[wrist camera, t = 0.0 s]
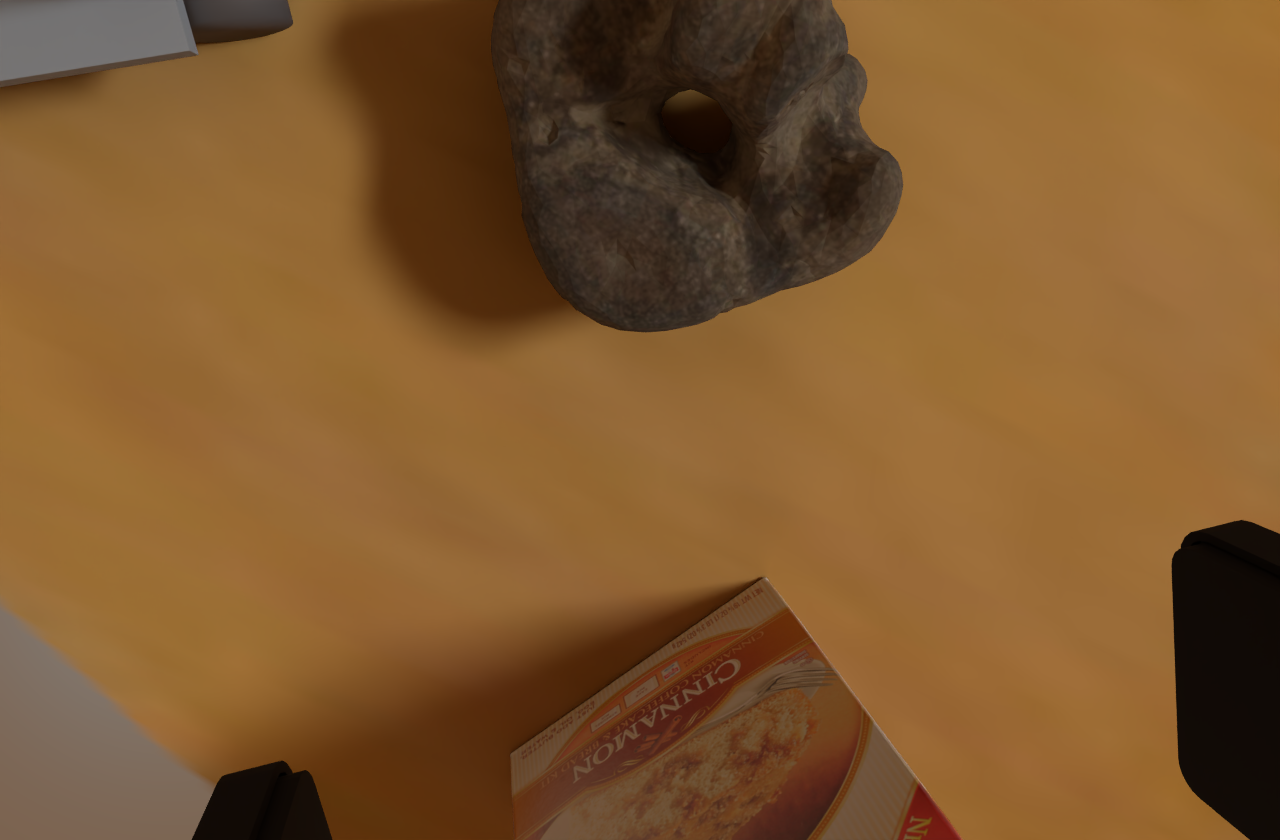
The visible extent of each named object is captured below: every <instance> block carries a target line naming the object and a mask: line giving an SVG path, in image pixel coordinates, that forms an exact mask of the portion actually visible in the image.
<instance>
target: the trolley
mask: <svg viewBox="0 0 1280 840" xmlns="http://www.w3.org/2000/svg"><path fill="white" fill-rule="evenodd" d="M292 24H293V20H292V16H291V12H290V9H289V5H288V1H287V0H0V87H4V86H11V85H17V84H23V83H29V82H35V81H42V80H48V79H54V78H60V77H66V76H73V75H79V74H85V73H91V72H97V71H104V70H110V69H116V68H122V67H128V66H135V65H141V64H147V63H153V62H159V61H165V60H172V59H178V58H184V57H190V56H196V55H198V51H197V48H196V44H195V42H202V43H210V42H228V41H238V40H245V39H251V38H257V37H262V36H266V35H270V34H274V33H277V32H280V31H283V30H285V29H287V28H289V27H290V26H291V25H292Z"/></svg>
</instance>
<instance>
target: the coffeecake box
mask: <svg viewBox="0 0 1280 840" xmlns="http://www.w3.org/2000/svg"><path fill="white" fill-rule="evenodd" d="M510 758H511V787H512V804H513V829H514V840H963V839H962V837H961V836H960V835H959V833H958V832H957V830H956V829H955V828H954V826H953V825H952V824H951V822H950V821H949V820H948V818H947V817H946V816H945V814H944V813H943V811H942V810H941V809H940V807H939V806H938V805H937V803H936V802H935V801H934V799H933V798H932V797H931V795H930V794H929V792H928V791H927V790H926V788H925V787H924V786H923V784H922V783H921V782H920V780H919V779H918V778H917V776H916V775H915V774H914V772H913V771H912V770H911V768H910V767H909V766H908V764H907V763H906V762H905V760H904V759H903V758H902V756H901V755H900V754H899V752H898V751H897V750H896V748H895V747H894V746H893V744H892V743H891V742H890V741H889V739H888V738H887V737H886V735H885V734H884V733H883V731H882V730H881V729H880V727H879V726H878V725H877V723H876V722H875V720H874V719H873V718H872V716H871V715H870V714H869V712H868V711H867V710H866V708H865V707H864V706H863V705H862V703H861V702H860V701H859V699H858V698H857V696H856V695H855V694H854V692H853V691H852V690H851V688H850V687H849V686H848V684H847V683H846V682H845V680H844V679H843V678H842V676H841V675H840V674H839V672H838V671H837V670H836V668H835V667H834V666H833V665H832V663H831V662H830V661H829V659H828V658H827V656H826V655H825V654H824V652H823V651H822V650H821V648H820V647H819V646H818V644H817V643H816V642H815V640H814V639H813V638H812V636H811V635H810V634H809V632H808V631H807V629H806V628H805V627H804V625H803V624H802V623H801V621H800V620H799V619H798V618H797V616H796V615H795V614H794V612H793V611H792V610H791V608H790V607H789V606H788V604H787V603H786V602H785V600H784V599H783V598H782V596H781V595H780V594H779V593H778V591H777V590H776V589H775V588H774V586H773V585H772V584H771V583H770V581H769V580H768V579H767V578H762V579H761V580H759V581H758V582H756V583H755V584H753V585H752V586H750V587H749V588H748V589H746V590H745V591H743V592H742V593H740V594H739V595H738V596H736V597H735V598H733V599H732V600H730V601H729V602H727V603H726V604H724V605H723V606H721V607H720V608H719V609H717V610H716V611H714V612H713V613H711V614H710V615H708V616H707V617H706V618H704V619H703V620H701V621H700V622H698V623H697V624H696V625H694V626H693V627H691V628H690V629H688V630H687V631H686V632H684V633H683V634H681V635H680V636H678V637H677V638H675V639H674V640H673V641H671V642H670V643H668V644H667V645H665V646H664V647H663V648H661V649H660V650H658V651H657V652H655V653H654V654H653V655H651V656H650V657H648V658H647V659H645V660H644V661H642V662H641V663H640V664H638V665H637V666H635V667H634V668H632V669H631V670H630V671H628V672H627V673H625V674H624V675H622V676H621V677H619V678H618V679H617V680H615V681H614V682H612V683H611V684H610V685H608V686H607V687H605V688H604V689H602V690H601V691H600V692H598V693H597V694H595V695H594V696H593V697H591V698H590V699H588V700H587V701H585V702H584V703H582V704H581V705H580V706H578V707H577V708H575V709H574V710H572V711H571V712H570V713H568V714H567V715H565V716H564V717H562V718H561V719H560V720H558V721H557V722H555V723H554V724H552V725H551V726H549V727H548V728H547V729H545V730H544V731H542V732H541V733H539V734H538V735H537V736H535V737H534V738H532V739H531V740H529V741H528V742H526V743H525V744H524V745H522V746H521V747H519V748H518V749H516V750H515V751H514V752H512V753H511V754H510Z"/></svg>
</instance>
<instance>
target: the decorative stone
mask: <svg viewBox="0 0 1280 840" xmlns="http://www.w3.org/2000/svg"><path fill="white" fill-rule="evenodd" d="M491 52H492V60H493V66H494V70H495V73H496V76H497V82H498V86H499V90H500V93H501V97H502V100H503V103H504V107H505V110H506V114H507V119H508V125H509V131H510V137H511V145H512V154H513V159H514V162H515V171H516V178H517V185H518V191H519V194H520V198H521V201H522V218H523V221H524V224H525V228H526V231H527V234H528V237H529V240H530V242H531V245H532V247H533V250H534V252H535V255H536V256H537V258H538V260H539V262H540V264H541V266H542V268H543V270H544V272H545V274H546V276H547V278H548V280H549V281H550V283H551V284H552V285H553V287H554V288H555V289H556V291H557V292H558V293H559V294H560V295H561V297H562V298H564V299H566V300H567V301H569V302H570V303H571V304H572V305H573V307H574V308H575V309H576V310H578V311H579V312H581V313H583V314H584V315H586V316H588V317H589V318H591V319H593V320H594V321H596V322H597V323H599V324H601V325H605V326H608V327H611V328H615V329H618V330H624V331H636V332H657V331H667V330H673V329H678V328H683V327H688V326H692V325H697V324H699V323H702V322H705V321H708V320H710V319H712V318H714V317H716V316H717V315H718V314H719V313H724V312H728V311H730V310H731V309H733V308H735V307H739V306H743V305H747V304H750V303H752V302H755V301H757V300H759V299H762V298H764V297H767V296H769V295H771V294H774V293H776V292H778V291H781V290H785V289H789V288H794V287H798V286H802V285H805V284H808V283H811V282H814V281H816V280H819V279H822V278H824V277H826V276H829V275H831V274H834V273H836V272H838V271H840V270H842V269H844V268H845V267H847V266H849V265H851V264H852V263H854V262H855V261H857V260H858V259H860V258H861V257H863V256H864V255H866V254H867V253H869V252H870V251H871V250H872V249H873V248H874V246H875V245H876V244H877V243H878V242H879V241H880V239H881V238H882V237H883V235H884V233H885V231H886V230H887V228H888V226H889V225H890V223H891V221H892V220H893V218H894V216H895V214H896V212H897V209H898V205H899V202H900V198H901V194H902V189H903V180H902V173H901V170H900V167H899V164H898V162H897V160H896V159H895V158H894V157H893V156H892V155H891V154H890V153H889V152H888V151H886V150H884V149H882V148H879V147H878V146H877V145H875V144H874V143H873V142H872V141H871V139H870V138H869V137H868V135H867V134H866V132H865V131H864V130H863V128H862V126H861V123H860V119H859V112H858V111H859V106H860V104H861V102H862V100H863V98H864V95H865V92H866V88H867V77H866V72H865V70H864V68H863V67H862V65H861V64H860V63H859V61H858V60H857V59H856V58H855V57H853V56H852V55H850V54H847V52H848V40H847V35H846V30H845V25H844V23H843V22H842V20H841V19H840V17H839V15H838V14H837V12H836V11H835V9H834V8H833V6H832V1H831V0H499V2H498V5H497V8H496V11H495V13H494V22H493V29H492V35H491ZM689 89H692V90H696V91H698V92H700V93H702V94H705V95H707V96H709V97H711V98H713V99H715V100H717V101H718V103H719V104H720V106H721V108H722V110H723V111H724V112H725V114H726V115H727V116H728V118H729V119H730V120H731V121H732V129H731V133H730V138H729V141H728V143H727V144H726V145H725V147H724V148H723V149H721V150H719V151H717V152H715V153H698V152H696V151H693V150H691V149H688V148H686V147H684V146H683V145H681V144H680V143H679V142H677V141H676V140H675V139H673V138H672V137H671V136H670V135H669V133H668V131H667V130H666V128H665V126H664V124H663V120H662V116H661V110H662V108H663V106H664V104H665V102H666V101H667V100H668V99H670V98H671V97H672V96H674V95H675V94H677V93H678V92H681V91H685V90H689Z"/></svg>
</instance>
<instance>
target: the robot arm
mask: <svg viewBox="0 0 1280 840" xmlns="http://www.w3.org/2000/svg"><path fill="white" fill-rule="evenodd" d="M1172 591H1173V619H1174V648H1175V676H1176V704H1177V733H1178V759H1179V765H1180V769H1181V772H1182V774H1183V776H1184V778H1185V780H1186V782H1187V784H1188V785H1189V787H1190V788H1191V789H1192V791H1193V792H1194V793H1195V794H1196V795H1197V796H1198V797H1199V798H1200V799H1201V800H1203V801H1204V802H1205V803H1206V804H1207V805H1209V806H1210V807H1211V808H1212V809H1213V810H1215V811H1216V812H1217V813H1218V814H1219V815H1221V816H1222V817H1223V818H1224V819H1225V820H1227V821H1228V822H1229V823H1230V824H1232V825H1233V826H1234V827H1235V828H1236V829H1238V830H1239V831H1240V832H1241V833H1242V834H1244V835H1245V836H1246V837H1247V838H1248V839H1250V840H1280V534H1279V533H1276V532H1274V531H1271V530H1269V529H1267V528H1264V527H1262V526H1259V525H1257V524H1255V523H1252V522H1248V521H1244V520H1240V521H1234V522H1230V523H1226V524H1222V525H1218V526H1214V527H1210V528H1206V529H1202V530H1198V531H1194V532H1191V533H1189V534H1188V535H1187V536H1186V537H1185V538H1184V540H1183V542H1182V544H1181V549H1179V550H1178V551H1176V552H1175V554H1174V556H1173V558H1172ZM192 840H332V837H331V834H330V831H329V828H328V824H327V821H326V818H325V815H324V812H323V808H322V805H321V802H320V799H319V796H318V792H317V789H316V786H315V783H314V781H313V778H312V776H311V775H310V773H309V772H308V771H306V770H304V771H300V772H297V773H292V770H291V769H290V767H289V766H288V764H287V763H286V762H284V761H279V762H275V763H271V764H267V765H263V766H259V767H255V768H251V769H247V770H243V771H239V772H235V773H231V774H227V775H224V776H222V777H221V778H220V780H219V781H218V783H217V785H216V787H215V789H214V792H213V794H212V796H211V798H210V800H209V803H208V805H207V807H206V809H205V811H204V814H203V816H202V818H201V820H200V822H199V825H198V827H197V829H196V831H195V834H194V836H193V838H192Z"/></svg>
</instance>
